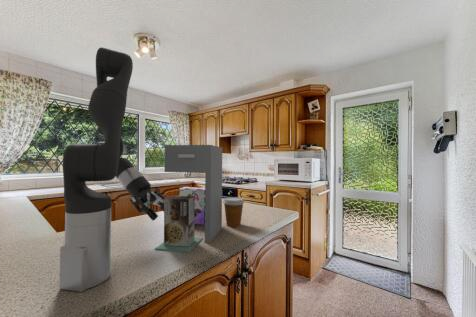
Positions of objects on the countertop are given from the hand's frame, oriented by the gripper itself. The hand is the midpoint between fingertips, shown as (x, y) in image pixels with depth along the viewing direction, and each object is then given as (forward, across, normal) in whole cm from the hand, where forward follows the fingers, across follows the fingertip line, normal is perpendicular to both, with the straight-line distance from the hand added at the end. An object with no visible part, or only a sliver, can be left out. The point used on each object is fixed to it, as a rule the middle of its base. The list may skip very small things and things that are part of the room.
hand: (162, 215), depth 75 cm
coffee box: (+11, 0, +2) cm, 12 cm away
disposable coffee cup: (+22, +25, -8) cm, 34 cm away
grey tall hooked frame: (+12, +11, +1) cm, 17 cm away
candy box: (+8, +25, +6) cm, 27 cm away
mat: (+12, 0, +2) cm, 12 cm away
